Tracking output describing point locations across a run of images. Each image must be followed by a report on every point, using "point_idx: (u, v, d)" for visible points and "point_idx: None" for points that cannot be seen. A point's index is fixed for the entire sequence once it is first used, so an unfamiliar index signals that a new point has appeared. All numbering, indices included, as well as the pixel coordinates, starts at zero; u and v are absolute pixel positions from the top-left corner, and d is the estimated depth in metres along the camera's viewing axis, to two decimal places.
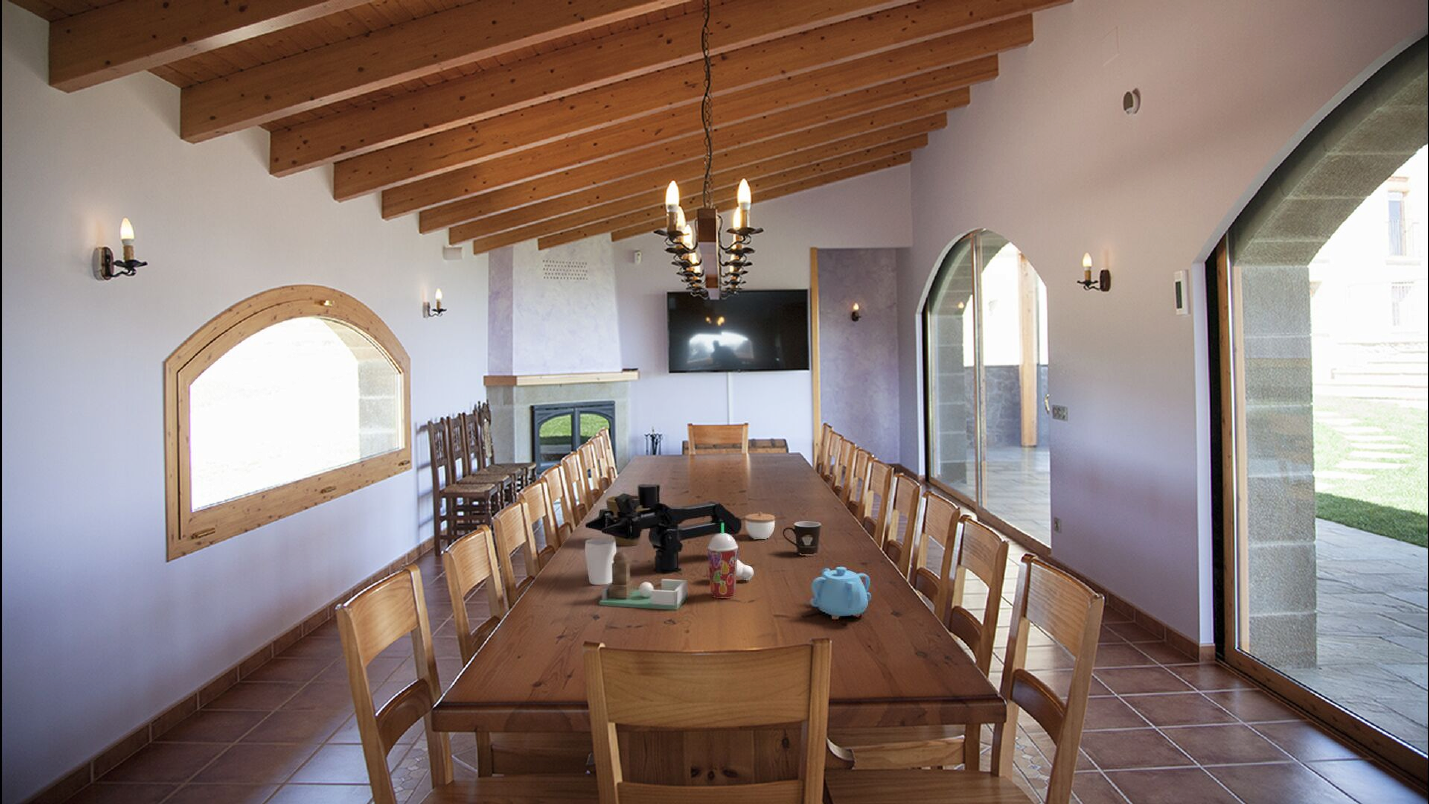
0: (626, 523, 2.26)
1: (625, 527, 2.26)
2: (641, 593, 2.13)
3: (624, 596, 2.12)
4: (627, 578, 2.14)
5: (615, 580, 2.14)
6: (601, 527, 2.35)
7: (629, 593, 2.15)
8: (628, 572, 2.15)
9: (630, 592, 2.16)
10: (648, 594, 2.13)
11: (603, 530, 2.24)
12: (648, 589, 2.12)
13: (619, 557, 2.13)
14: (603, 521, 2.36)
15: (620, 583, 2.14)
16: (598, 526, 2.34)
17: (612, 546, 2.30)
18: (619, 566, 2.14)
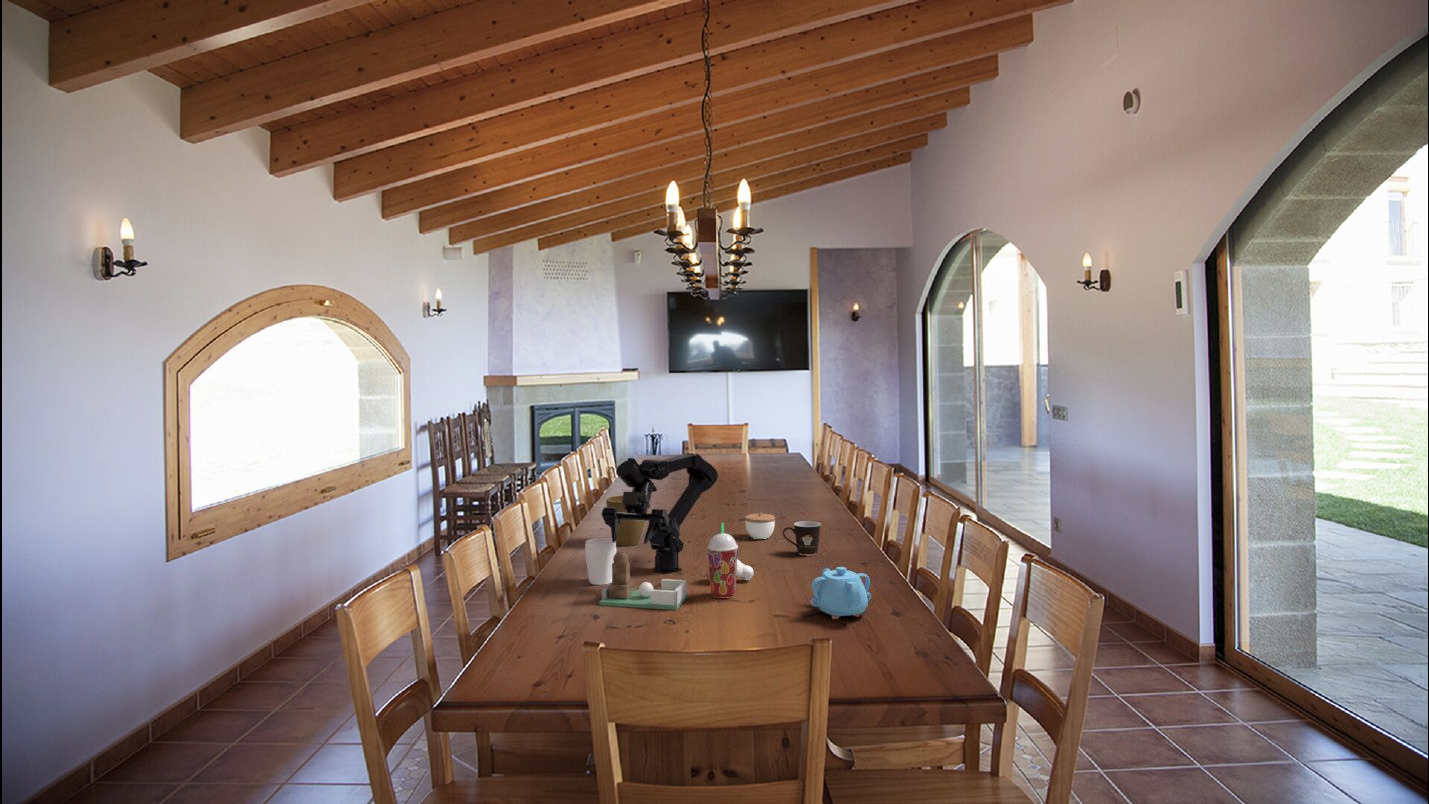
0: (657, 520, 2.24)
1: (657, 523, 2.25)
2: (641, 593, 2.13)
3: (624, 596, 2.12)
4: (627, 578, 2.14)
5: (615, 580, 2.14)
6: (617, 528, 2.28)
7: (629, 593, 2.15)
8: (628, 572, 2.15)
9: (630, 592, 2.16)
10: (648, 594, 2.13)
11: (646, 542, 2.21)
12: (648, 589, 2.12)
13: (619, 557, 2.13)
14: (616, 522, 2.27)
15: (620, 583, 2.14)
16: (617, 530, 2.27)
17: (612, 546, 2.30)
18: (619, 566, 2.14)
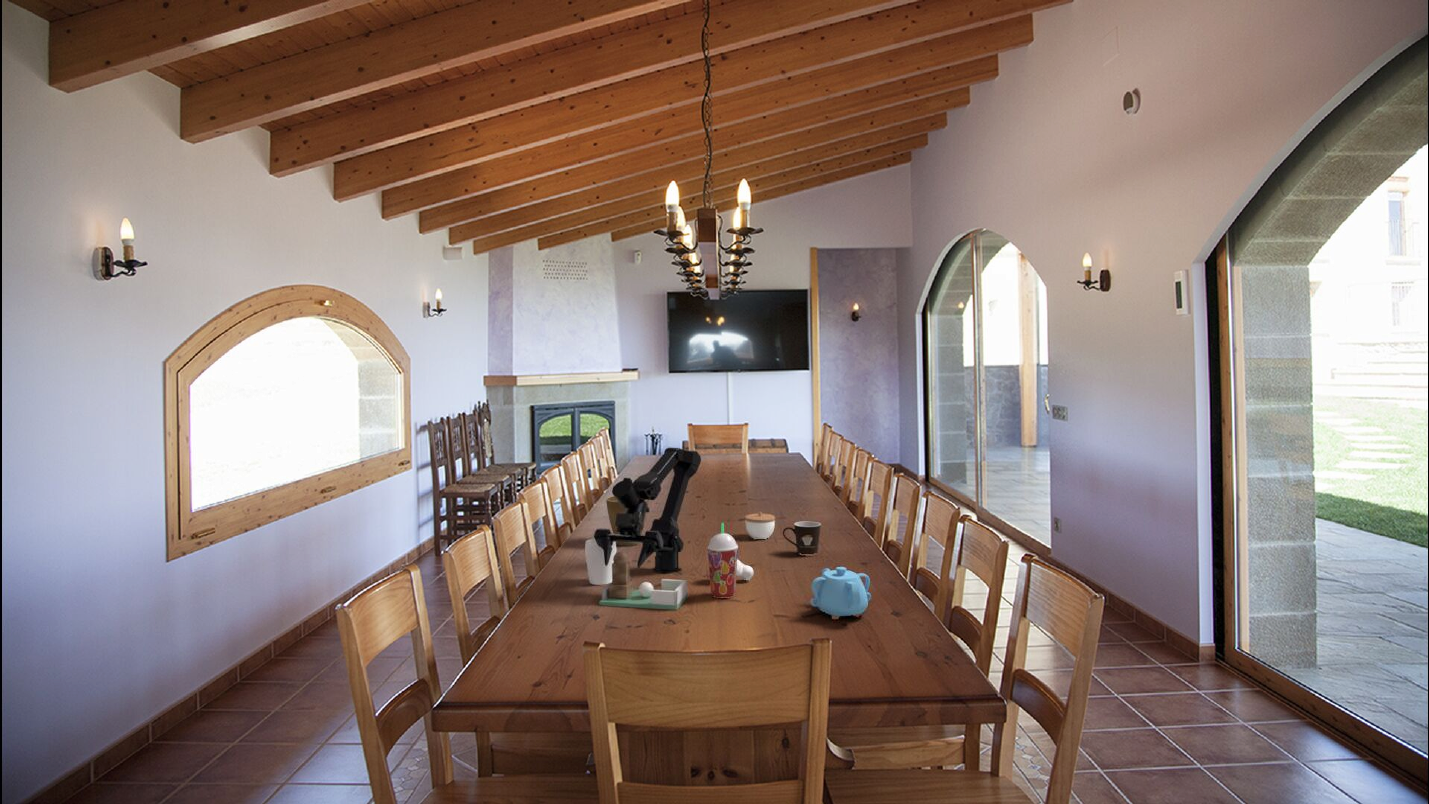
0: (651, 543, 2.18)
1: (651, 545, 2.19)
2: (641, 593, 2.13)
3: (624, 596, 2.12)
4: (627, 578, 2.14)
5: (615, 580, 2.14)
6: (610, 550, 2.22)
7: (629, 593, 2.15)
8: (628, 572, 2.15)
9: (630, 592, 2.16)
10: (648, 594, 2.13)
11: (639, 565, 2.16)
12: (648, 589, 2.12)
13: (619, 557, 2.13)
14: (609, 544, 2.21)
15: (620, 583, 2.14)
16: (609, 553, 2.21)
17: (612, 546, 2.30)
18: (619, 566, 2.14)
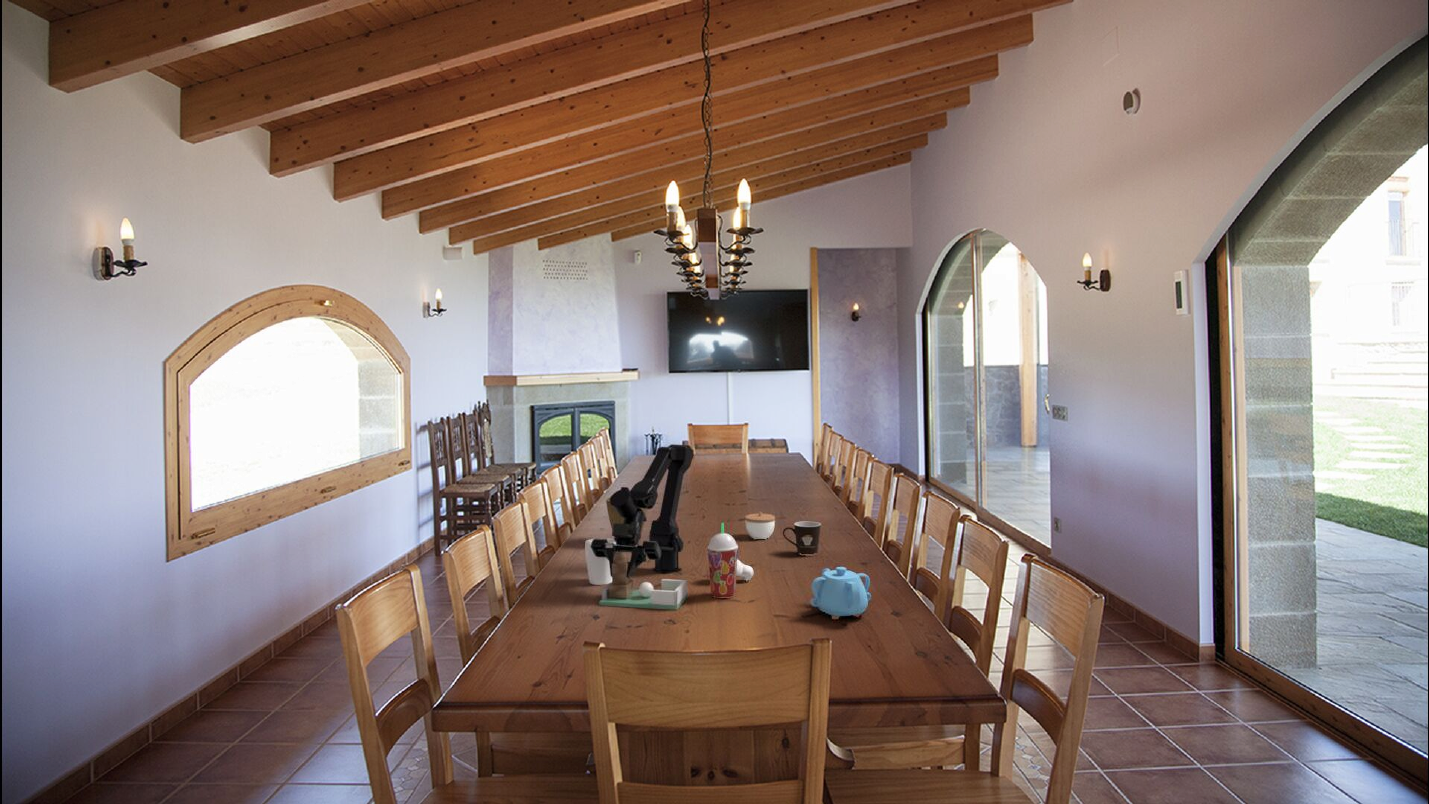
0: (640, 553, 2.16)
1: (640, 555, 2.17)
2: (641, 593, 2.13)
3: (624, 596, 2.12)
4: (627, 578, 2.14)
5: (615, 580, 2.14)
6: None
7: (629, 593, 2.15)
8: None
9: (630, 592, 2.16)
10: (648, 594, 2.13)
11: (628, 575, 2.14)
12: (648, 589, 2.12)
13: (619, 557, 2.13)
14: None
15: (620, 583, 2.14)
16: None
17: None
18: (619, 566, 2.14)
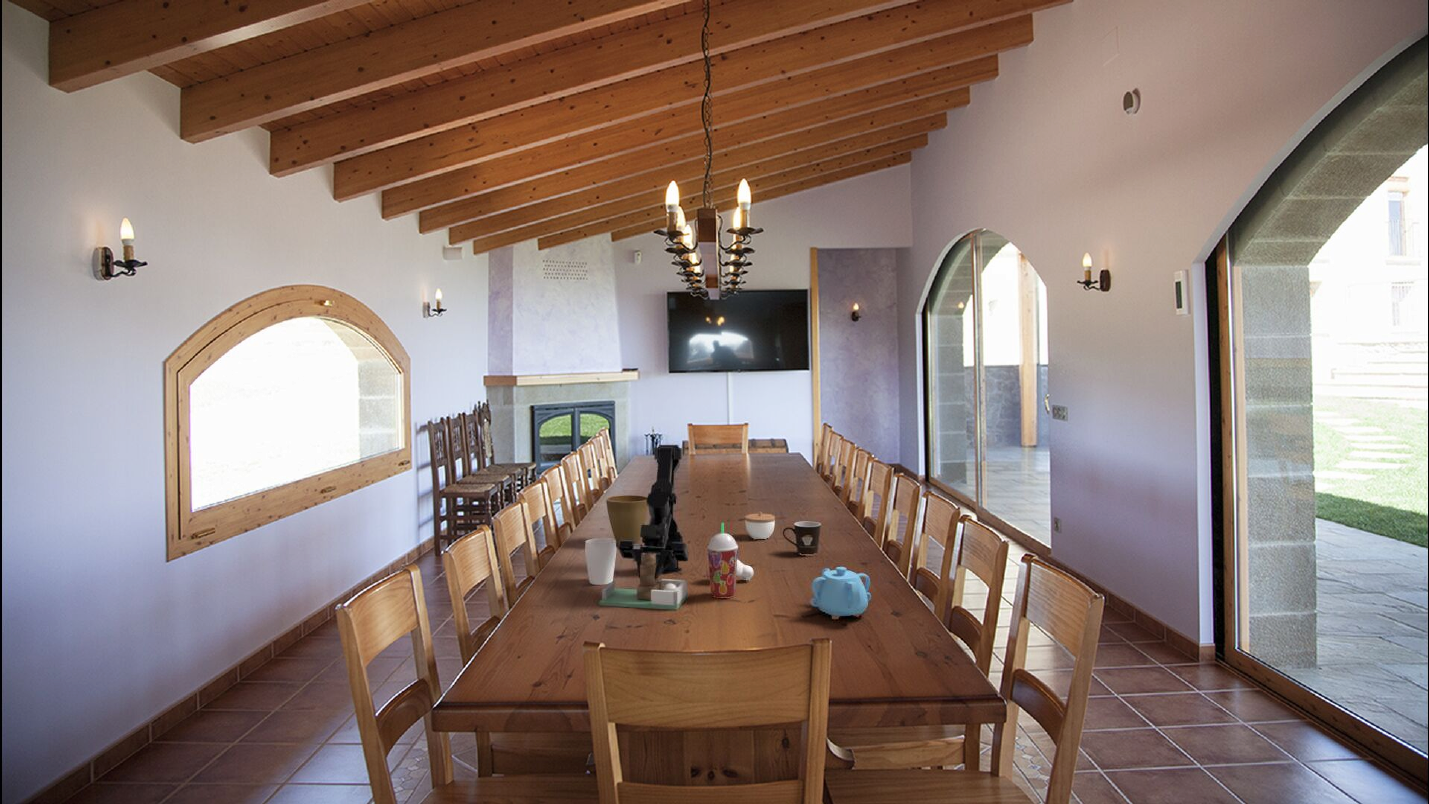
0: (668, 554, 2.14)
1: (668, 557, 2.15)
2: None
3: None
4: (655, 579, 2.13)
5: (643, 582, 2.13)
6: None
7: None
8: None
9: None
10: (665, 588, 2.12)
11: (656, 577, 2.12)
12: None
13: (648, 558, 2.12)
14: None
15: (648, 584, 2.12)
16: None
17: (612, 546, 2.30)
18: (647, 567, 2.12)
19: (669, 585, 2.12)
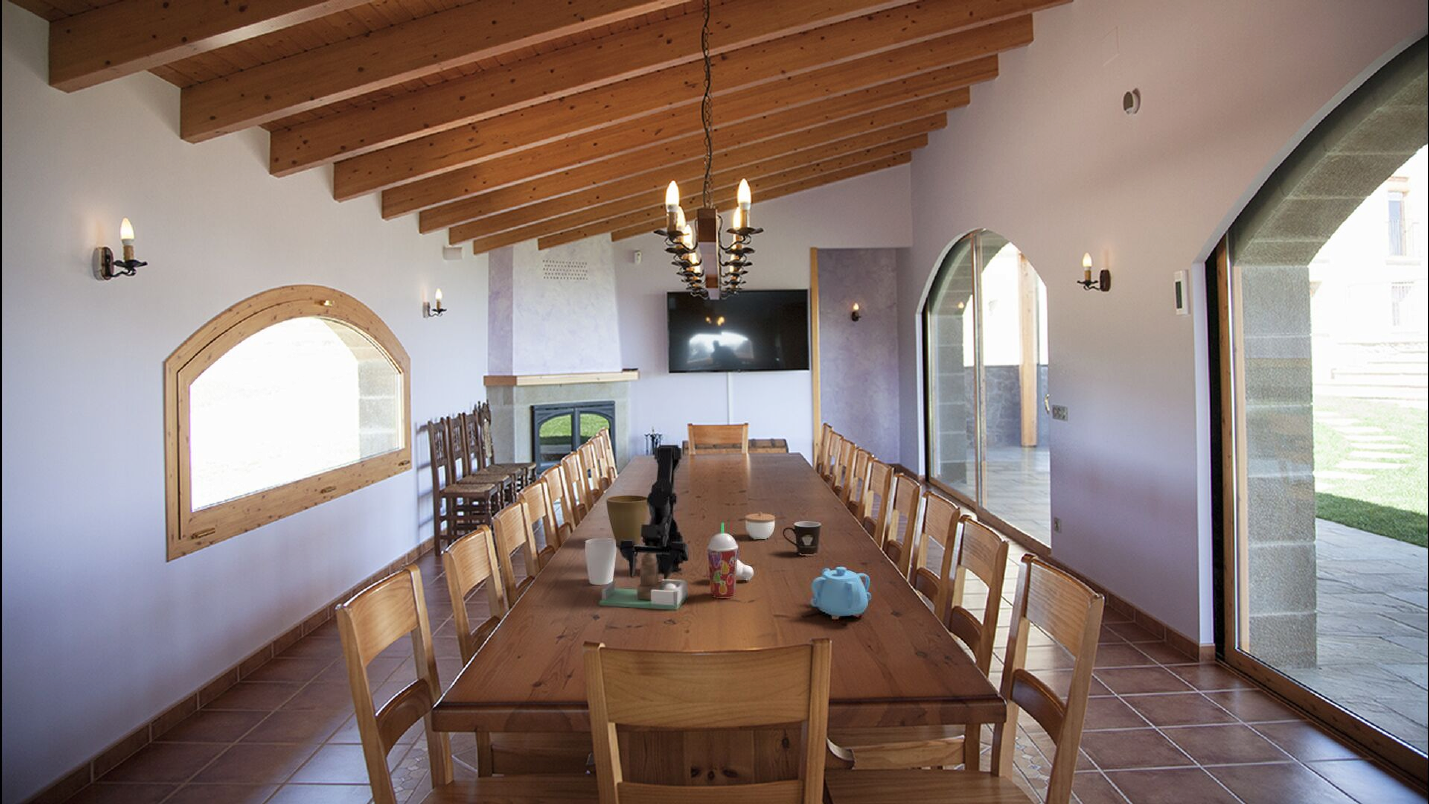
0: (677, 554, 2.14)
1: (677, 557, 2.15)
2: None
3: None
4: (655, 579, 2.13)
5: (643, 582, 2.13)
6: (635, 561, 2.18)
7: None
8: (657, 573, 2.14)
9: None
10: (665, 588, 2.12)
11: (665, 577, 2.12)
12: None
13: (648, 558, 2.12)
14: (634, 556, 2.17)
15: (649, 584, 2.12)
16: (634, 564, 2.17)
17: (612, 546, 2.30)
18: (648, 567, 2.12)
19: (669, 585, 2.12)
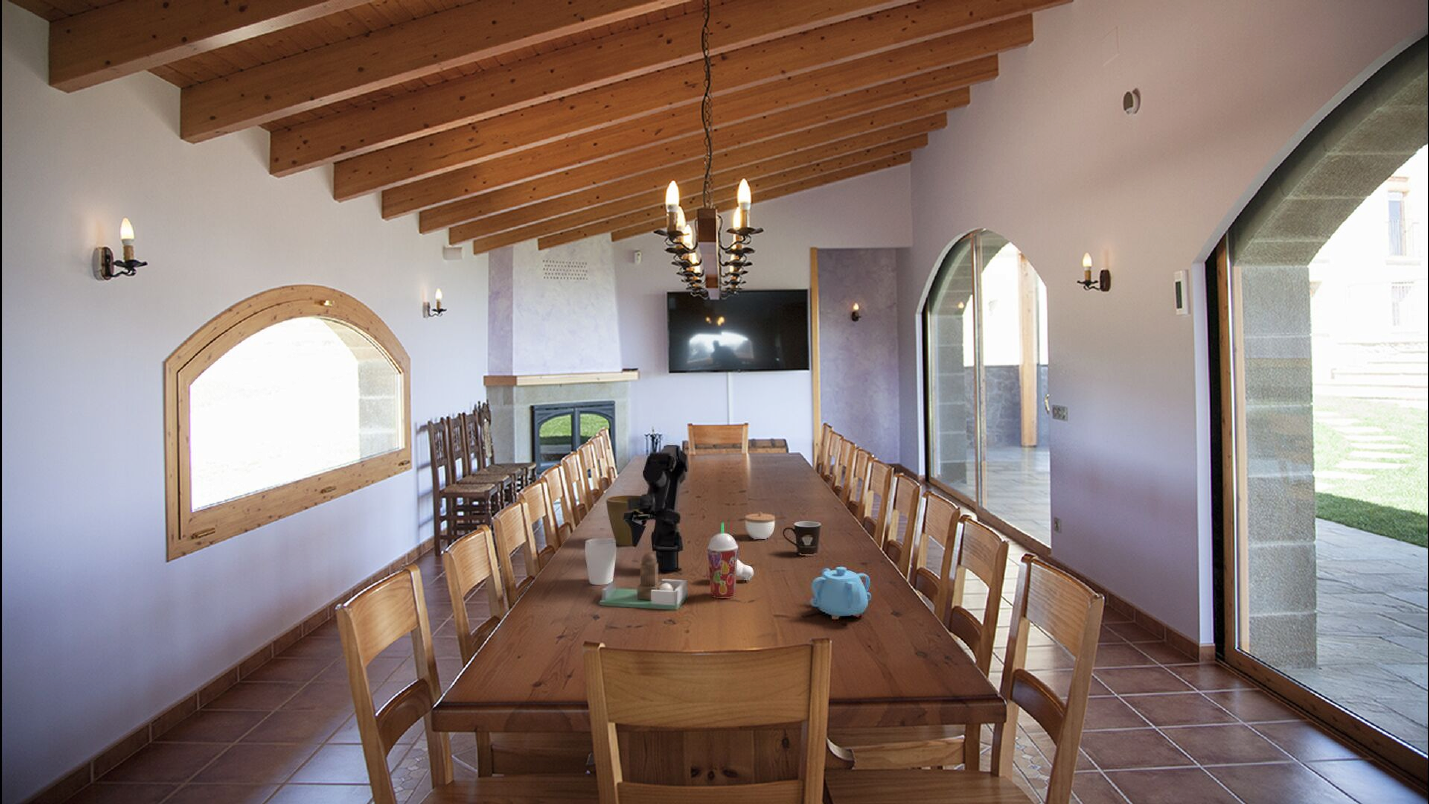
0: (663, 521, 2.21)
1: (665, 523, 2.22)
2: (665, 589, 2.11)
3: None
4: (655, 579, 2.13)
5: (643, 582, 2.13)
6: (641, 529, 2.31)
7: None
8: (657, 573, 2.14)
9: None
10: None
11: (656, 544, 2.21)
12: None
13: (648, 558, 2.12)
14: (637, 525, 2.30)
15: (649, 584, 2.12)
16: (639, 532, 2.30)
17: (612, 546, 2.30)
18: (648, 567, 2.12)
19: (660, 586, 2.12)
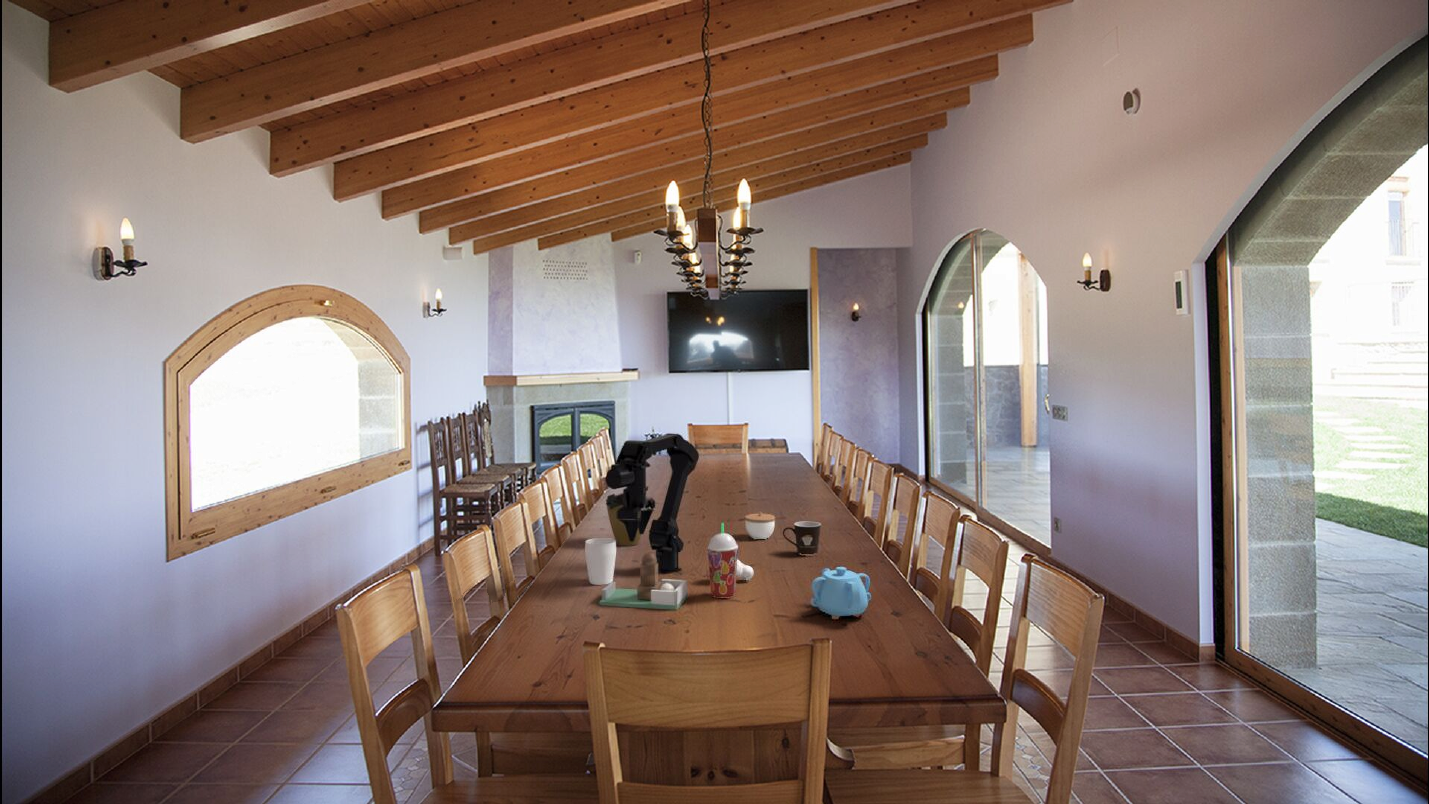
0: (623, 520, 2.24)
1: None
2: (667, 590, 2.11)
3: None
4: (655, 579, 2.13)
5: (643, 582, 2.13)
6: (646, 516, 2.35)
7: None
8: (657, 573, 2.14)
9: None
10: None
11: (631, 540, 2.26)
12: None
13: (648, 558, 2.12)
14: (640, 513, 2.36)
15: (649, 584, 2.12)
16: (644, 519, 2.35)
17: (612, 546, 2.30)
18: (648, 567, 2.12)
19: (662, 585, 2.12)
